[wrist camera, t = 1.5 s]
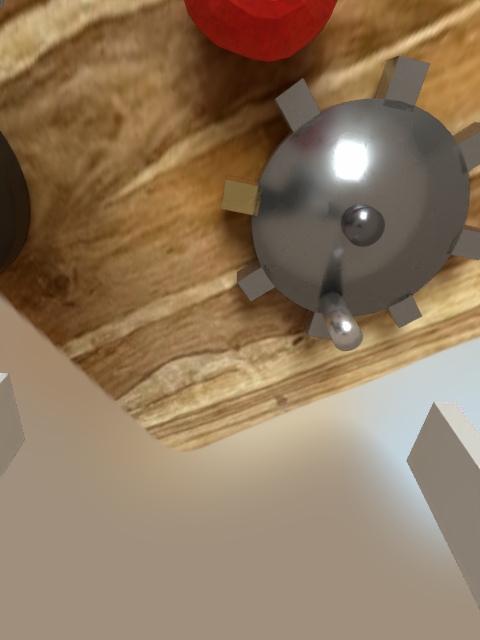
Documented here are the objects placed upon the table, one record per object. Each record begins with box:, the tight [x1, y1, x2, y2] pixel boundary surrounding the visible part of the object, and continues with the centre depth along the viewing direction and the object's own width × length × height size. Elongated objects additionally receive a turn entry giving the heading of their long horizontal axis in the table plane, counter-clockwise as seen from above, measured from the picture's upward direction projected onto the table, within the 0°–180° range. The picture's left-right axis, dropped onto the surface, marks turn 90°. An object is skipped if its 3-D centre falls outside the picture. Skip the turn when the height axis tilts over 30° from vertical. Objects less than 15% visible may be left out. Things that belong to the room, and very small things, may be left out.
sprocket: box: [221, 56, 480, 351], centre depth 24 cm, size 18×18×7 cm
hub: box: [341, 204, 385, 247], centre depth 26 cm, size 6×6×4 cm
